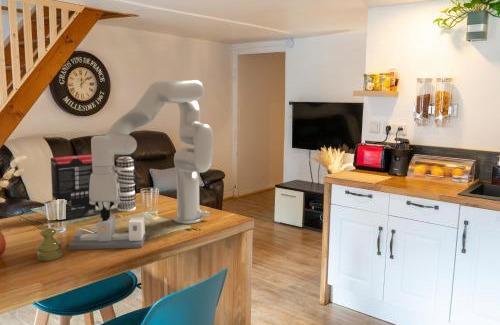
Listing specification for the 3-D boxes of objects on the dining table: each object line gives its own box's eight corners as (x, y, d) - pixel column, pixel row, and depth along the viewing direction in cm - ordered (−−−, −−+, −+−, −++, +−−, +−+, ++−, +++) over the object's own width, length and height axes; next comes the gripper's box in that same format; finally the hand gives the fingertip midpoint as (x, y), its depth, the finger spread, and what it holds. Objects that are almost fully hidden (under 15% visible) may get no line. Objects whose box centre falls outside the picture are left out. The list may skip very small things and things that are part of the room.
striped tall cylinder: (140, 207, 205) (139, 156, 201) (128, 212, 196) (126, 158, 192) (125, 205, 208) (123, 155, 204) (112, 210, 199) (110, 157, 195)
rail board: (146, 235, 164) (146, 213, 163) (141, 247, 151) (140, 223, 150) (80, 237, 162) (78, 215, 160) (69, 249, 149) (67, 225, 147)
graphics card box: (91, 211, 197) (88, 153, 192) (97, 214, 192) (94, 155, 187) (52, 219, 185) (48, 157, 180) (58, 222, 180) (54, 159, 176)
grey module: (115, 234, 160) (114, 216, 159) (110, 241, 152) (109, 223, 151) (103, 234, 160) (102, 216, 159) (97, 242, 151) (96, 223, 150)
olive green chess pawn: (59, 260, 139) (57, 231, 137) (34, 262, 137) (32, 232, 136) (64, 252, 146) (62, 224, 144) (40, 254, 144) (38, 225, 143)
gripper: (126, 168, 156) (128, 216, 159) (85, 168, 155) (87, 217, 158) (122, 171, 149) (124, 222, 152) (78, 172, 148) (81, 222, 150)
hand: (105, 219), depth 155 cm, fingers closed
